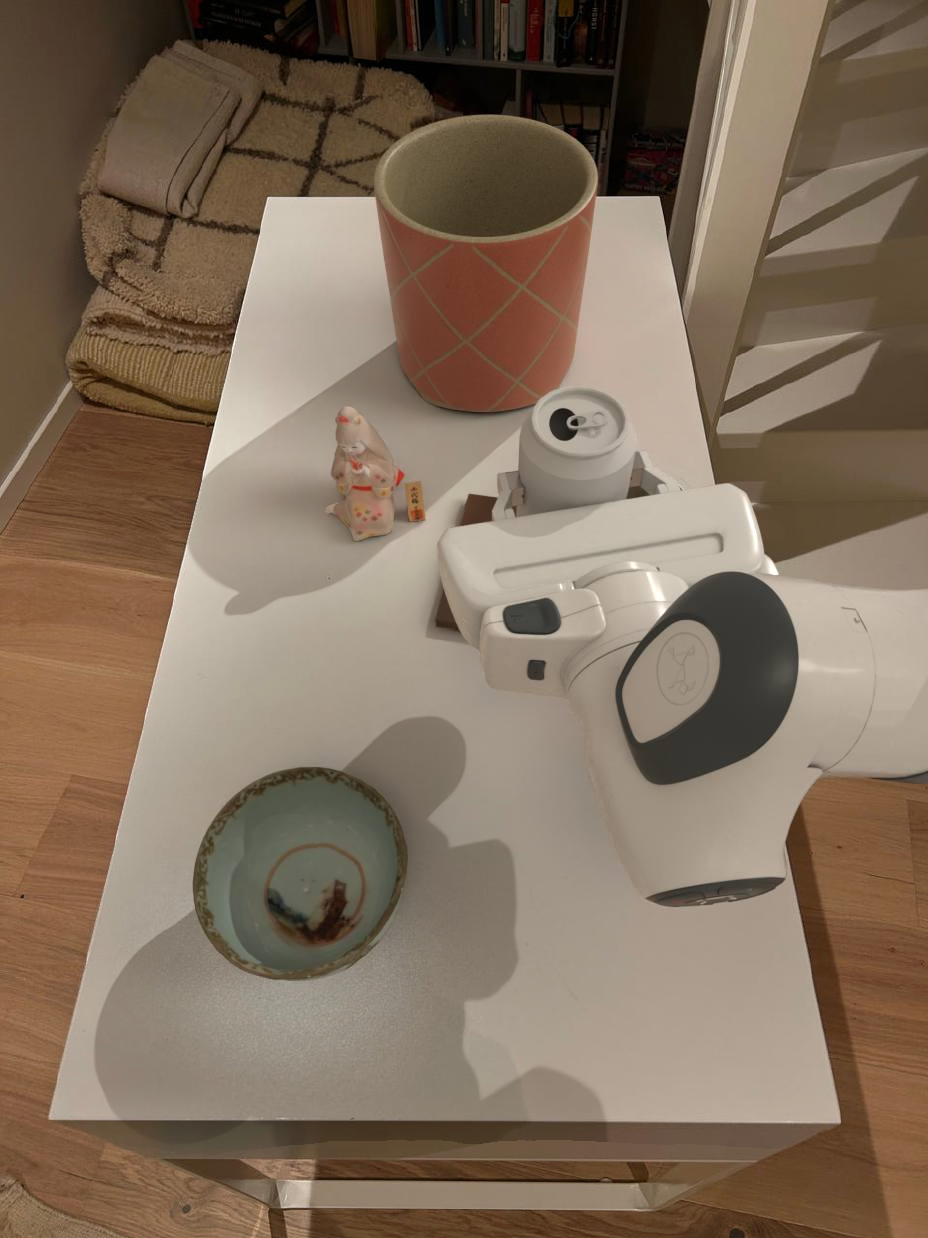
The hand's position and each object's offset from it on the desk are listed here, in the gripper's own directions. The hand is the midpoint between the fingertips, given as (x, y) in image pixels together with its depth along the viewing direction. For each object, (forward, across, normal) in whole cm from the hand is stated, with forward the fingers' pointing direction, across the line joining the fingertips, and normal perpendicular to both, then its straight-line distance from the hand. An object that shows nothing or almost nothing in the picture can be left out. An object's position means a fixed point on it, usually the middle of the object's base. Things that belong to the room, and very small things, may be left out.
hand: (569, 467), depth 62 cm
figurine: (+14, +13, +18) cm, 26 cm away
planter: (+32, -1, +18) cm, 37 cm away
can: (-1, 0, +7) cm, 7 cm away
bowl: (-20, +22, +18) cm, 35 cm away
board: (+4, 0, +18) cm, 18 cm away
